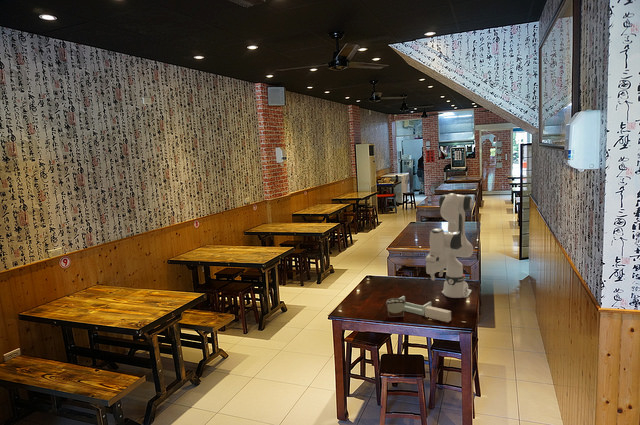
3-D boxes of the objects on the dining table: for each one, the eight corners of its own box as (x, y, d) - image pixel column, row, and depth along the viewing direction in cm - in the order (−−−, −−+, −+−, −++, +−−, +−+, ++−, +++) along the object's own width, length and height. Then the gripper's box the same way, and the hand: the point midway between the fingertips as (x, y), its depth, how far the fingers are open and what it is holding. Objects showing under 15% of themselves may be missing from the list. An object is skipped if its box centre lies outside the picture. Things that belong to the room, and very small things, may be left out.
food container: (403, 312, 272) (403, 297, 271) (406, 316, 266) (405, 300, 265) (384, 313, 272) (384, 298, 271) (386, 317, 266) (386, 301, 265)
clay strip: (428, 315, 267) (428, 305, 266) (451, 320, 257) (451, 311, 257) (425, 317, 264) (425, 307, 263) (448, 322, 254) (448, 313, 254)
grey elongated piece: (403, 304, 287) (403, 295, 286) (431, 310, 273) (431, 301, 272) (395, 308, 279) (395, 299, 279) (423, 315, 266) (423, 306, 265)
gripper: (440, 251, 265) (440, 273, 267) (424, 258, 250) (424, 281, 252) (449, 253, 261) (449, 275, 263) (433, 259, 246) (433, 283, 248)
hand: (437, 278), depth 257 cm, fingers open, 8 cm apart
